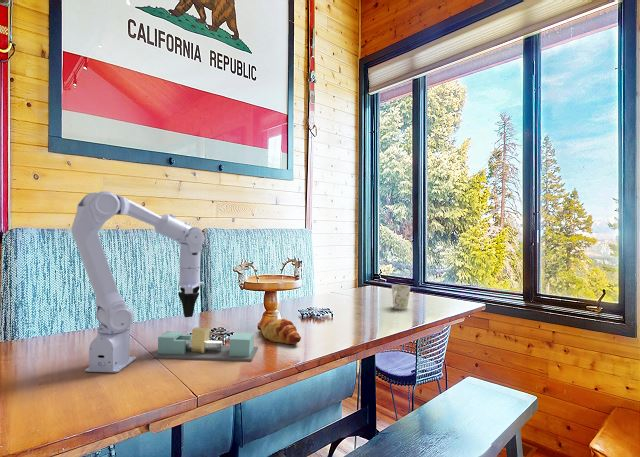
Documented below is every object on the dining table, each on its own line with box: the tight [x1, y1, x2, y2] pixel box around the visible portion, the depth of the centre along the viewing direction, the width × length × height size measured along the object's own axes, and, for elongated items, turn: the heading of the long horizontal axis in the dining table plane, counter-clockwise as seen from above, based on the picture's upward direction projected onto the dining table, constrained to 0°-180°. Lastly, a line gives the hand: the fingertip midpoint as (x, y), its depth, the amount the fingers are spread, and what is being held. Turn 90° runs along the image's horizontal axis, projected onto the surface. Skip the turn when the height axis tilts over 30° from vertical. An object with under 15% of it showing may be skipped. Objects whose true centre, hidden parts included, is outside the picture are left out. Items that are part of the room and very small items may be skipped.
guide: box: [153, 330, 259, 362], centre depth 105 cm, size 26×10×5 cm, turn 90°
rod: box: [175, 326, 224, 353], centre depth 105 cm, size 16×5×6 cm, turn 90°
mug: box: [391, 284, 411, 311], centre depth 168 cm, size 8×13×10 cm, turn 148°
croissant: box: [260, 318, 302, 345], centre depth 121 cm, size 21×10×8 cm, turn 41°
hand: (188, 313), depth 109 cm, fingers open, 7 cm apart
